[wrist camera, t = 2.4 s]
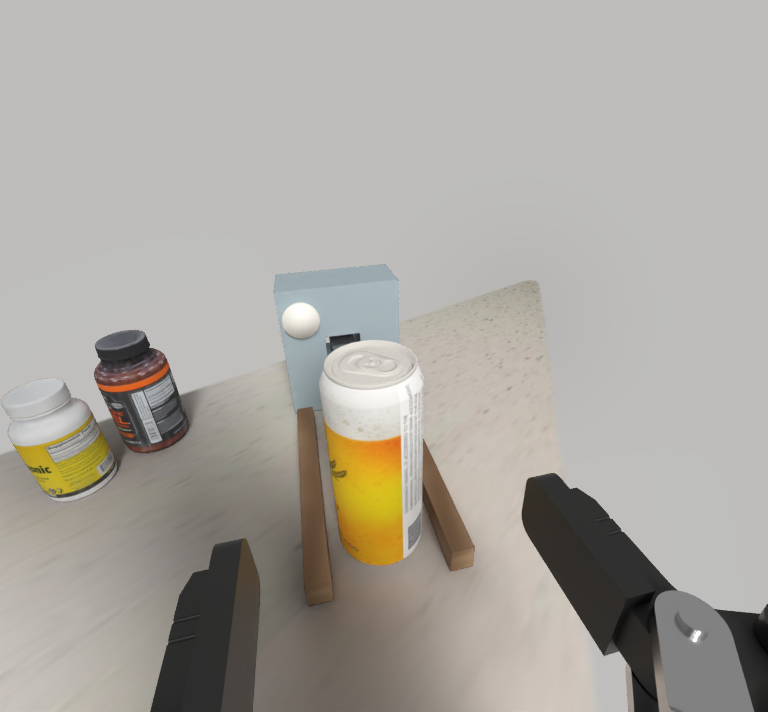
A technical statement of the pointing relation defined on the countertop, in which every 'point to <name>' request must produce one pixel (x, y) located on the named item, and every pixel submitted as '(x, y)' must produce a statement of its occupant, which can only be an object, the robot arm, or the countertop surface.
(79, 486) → the supplement bottle
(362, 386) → the beer can
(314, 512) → the rail track
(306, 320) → the end cabinet
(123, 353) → the supplement bottle
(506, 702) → the countertop surface
